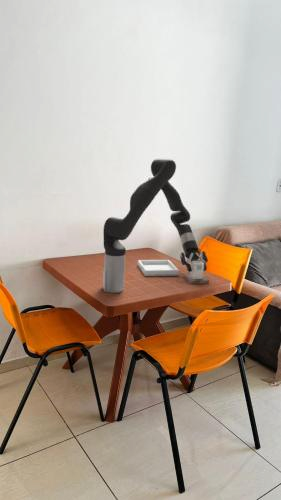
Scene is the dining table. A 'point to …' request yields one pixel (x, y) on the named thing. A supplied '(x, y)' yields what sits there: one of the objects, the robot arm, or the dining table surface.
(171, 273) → the tray
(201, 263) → the sleeve
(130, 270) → the dining table surface
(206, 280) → the stake base
